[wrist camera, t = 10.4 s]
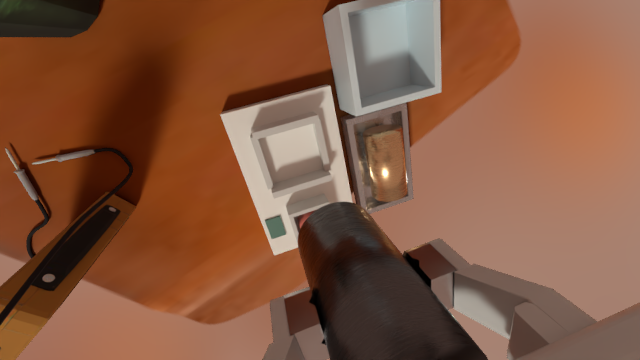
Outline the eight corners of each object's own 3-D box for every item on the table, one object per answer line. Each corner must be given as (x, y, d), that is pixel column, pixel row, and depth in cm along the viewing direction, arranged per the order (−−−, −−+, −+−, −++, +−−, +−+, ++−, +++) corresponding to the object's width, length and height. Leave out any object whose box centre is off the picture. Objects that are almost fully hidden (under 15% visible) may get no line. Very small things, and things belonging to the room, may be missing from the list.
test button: (294, 212, 27) (297, 221, 26) (320, 203, 28) (325, 212, 26) (301, 233, 29) (304, 243, 27) (325, 225, 29) (330, 234, 27)
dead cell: (288, 217, 12) (346, 427, 5) (367, 191, 12) (519, 348, 5) (308, 278, 13) (372, 497, 7) (377, 253, 14) (502, 432, 7)
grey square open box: (322, 15, 23) (338, 4, 19) (407, -4, 24) (439, -18, 20) (339, 109, 27) (356, 116, 23) (413, 88, 28) (441, 92, 24)
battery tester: (221, 112, 24) (218, 118, 21) (325, 84, 25) (337, 87, 22) (273, 247, 31) (276, 267, 28) (352, 220, 32) (364, 236, 29)
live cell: (356, 131, 27) (372, 141, 24) (390, 121, 28) (410, 129, 25) (366, 194, 31) (381, 210, 27) (396, 184, 31) (415, 199, 28)
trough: (340, 117, 27) (346, 120, 25) (397, 100, 28) (406, 103, 26) (357, 208, 32) (362, 216, 30) (405, 192, 33) (413, 198, 31)
